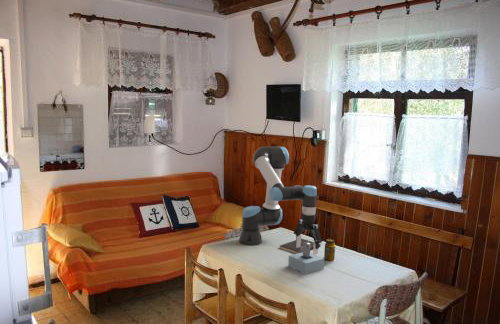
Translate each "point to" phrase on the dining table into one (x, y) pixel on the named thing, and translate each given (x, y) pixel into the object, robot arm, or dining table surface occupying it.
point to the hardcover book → (292, 246)
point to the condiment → (329, 251)
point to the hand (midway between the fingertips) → (306, 250)
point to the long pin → (306, 250)
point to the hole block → (306, 263)
